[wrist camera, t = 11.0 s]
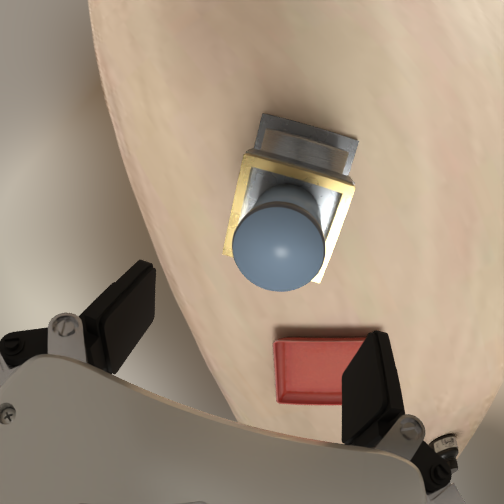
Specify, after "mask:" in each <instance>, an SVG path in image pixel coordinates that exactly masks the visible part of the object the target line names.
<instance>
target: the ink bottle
mask: <svg viewBox="0 0 504 504" xmlns="http://www.w3.org/2000/svg"><path fill="white" fill-rule="evenodd" d="M429 446H430V447H431V448H432V449H433V450H434V451H435V452H436V453H437V454H438V455H439V456H440V457H441V458H443V459H444V460H445V461H446V462H447V463H448V465H449V466H450V469H451V473H454V472H456V471H457V470H458V465H457V461H456V456H457V455H458V446H457V441H456V437H455V435H452V434H451V435H445V436H442V437H439V438H437V439H436V440H434V441H433V442H432V443H431V444H430V445H429Z"/></svg>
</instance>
